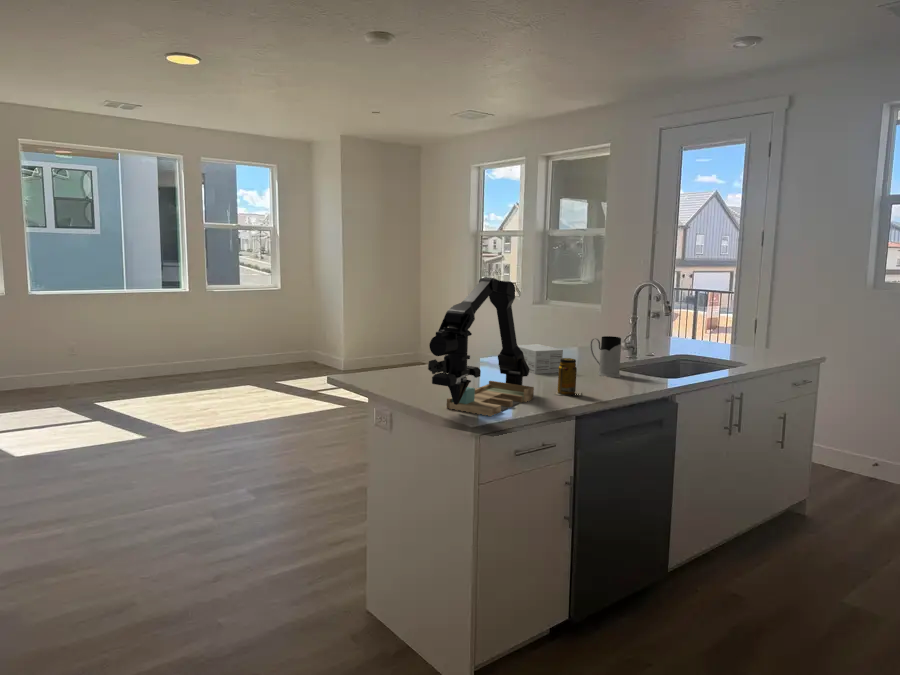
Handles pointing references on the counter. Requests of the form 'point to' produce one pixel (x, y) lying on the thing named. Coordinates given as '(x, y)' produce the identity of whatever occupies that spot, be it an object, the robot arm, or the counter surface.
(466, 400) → the block
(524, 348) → the supplement box
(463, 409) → the tray
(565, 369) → the condiment
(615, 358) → the black and white mug
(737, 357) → the counter surface
